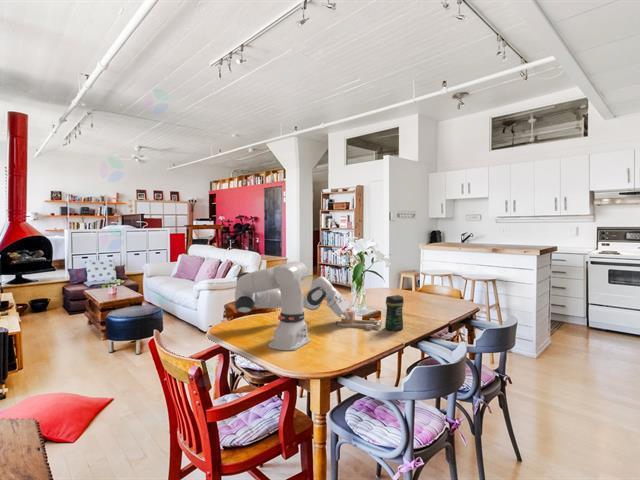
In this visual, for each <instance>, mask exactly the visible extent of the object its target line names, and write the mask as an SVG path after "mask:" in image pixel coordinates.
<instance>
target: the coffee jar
mask: <svg viewBox="0 0 640 480" xmlns="http://www.w3.org/2000/svg"><path fill="white" fill-rule="evenodd" d="M404 303H405V302H404V296H403V295H398V294H397V295H390V296H386V299H385V305H386V313H385V322H384V327H385V329H387V330H389V331H394V332H395V331H399V330H403V328H404V318H403V307H404Z"/></svg>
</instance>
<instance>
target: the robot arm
mask: <svg viewBox="0 0 640 480" xmlns="http://www.w3.org/2000/svg"><path fill="white" fill-rule="evenodd" d="M307 276H308V267H307V265H306V264H305V263H304V262H302V261H295V260H294V261H290V262H286V263H282V264H280V265H279V264H278V265H275V266H271V267H267V268H263V269H258V270H255V271H251V272H247V271H246V272H242V273H239V274H238V276H237V278H236V283H235V291H234V308H235V310H236V311H237V312H239V313H249V312H252V311H253V310H254V307H255V308H260V309H261V308H262V309H276V308H281V309H280V314H279V315H278V317H277V320H278V321H279V322H278V324H277V326H276V329H275V330H274V333H273V338H272V340H271V341H270V342H269V344H268V348H270V349H273V350H279V351H280V350H281V351H296V350H297V349H299V348H301V347H303V346H305V345H307V344H308V343H309V342H311V338H310V337H308V325H307V322H306V321H305V311H304V308H305V309H307V310H309V311H316V310H318V309H319V308H320V307H321V304H322V302H323V300H325V301H326V306H327V307H328V308H329V309H330V310H331V311H332V312H333V313H334V315H335V314H336V316H338V317H341V316H344V317H345V319H346V318H347V319H350V318H351V316H350V315H348V314H347V312H346V311H347V310H351V308H350V307H351V306H352V304H351V303H350V302H349V301H348V300H347V298H346V297H344V296H343V295H342V294H341V292H339V291H338V289H336V288H335V287H334V286H333V284H332V283H331V282H330V281H329V280H328V278H326V277H324V276H322V275H321V276H317V277H316V278H314V279H313V280H312V282H311V285H310V288H309V290H308V292H307V293H306V295H303V293H302V290H301V282H303V281H304V280H305V278H306V277H307Z"/></svg>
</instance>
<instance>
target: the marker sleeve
mask: <svg viewBox="0 0 640 480" xmlns="http://www.w3.org/2000/svg"><path fill="white" fill-rule="evenodd" d="M346 312H347V314H348V315H350V316H351V318H350V319H347V318H346V317H345V319H346V323H354V319H355V310H354V309H350V310H347V311H346Z"/></svg>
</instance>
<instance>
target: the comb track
mask: <svg viewBox="0 0 640 480" xmlns="http://www.w3.org/2000/svg"><path fill="white" fill-rule="evenodd" d="M340 319H341V321H339V322H338V323H337V326H338V327H345V328H357V329H365V330H366V331H372V330H377V331H378V330H380V329H381V327H382V325H383V323H382V322H383V320H381V319H379V320H378V321H377V320H376V318H373V317H371V318H369V320H365V319H355V318H354V323H361V324H354V323H344V322H346V318H340ZM365 324H366V325H365ZM372 324H374V325H372ZM376 325H377V326H376Z"/></svg>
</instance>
